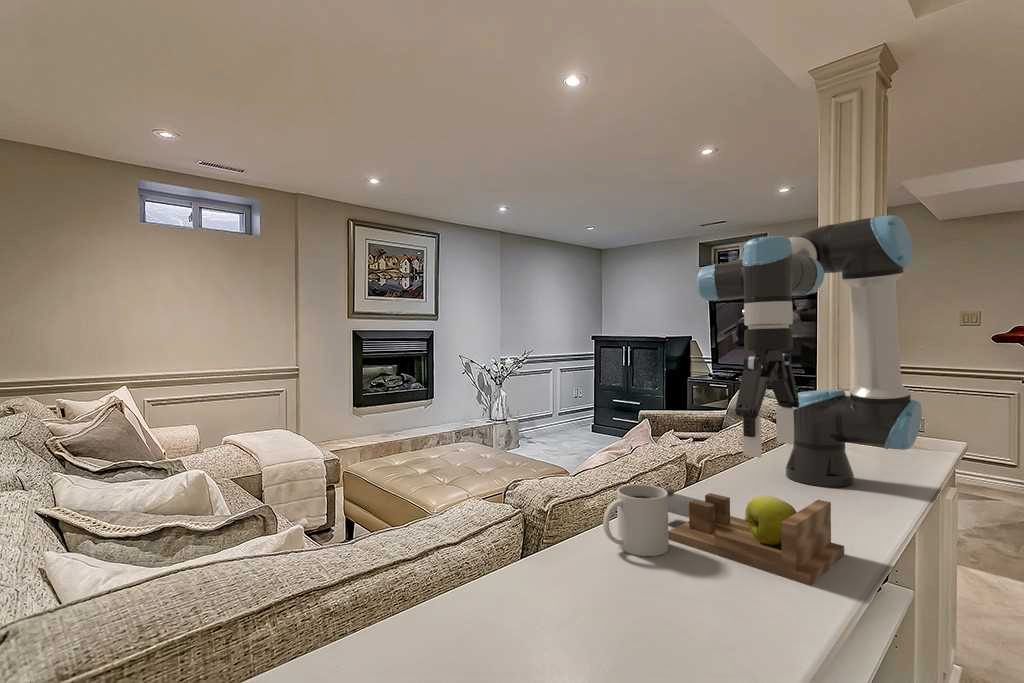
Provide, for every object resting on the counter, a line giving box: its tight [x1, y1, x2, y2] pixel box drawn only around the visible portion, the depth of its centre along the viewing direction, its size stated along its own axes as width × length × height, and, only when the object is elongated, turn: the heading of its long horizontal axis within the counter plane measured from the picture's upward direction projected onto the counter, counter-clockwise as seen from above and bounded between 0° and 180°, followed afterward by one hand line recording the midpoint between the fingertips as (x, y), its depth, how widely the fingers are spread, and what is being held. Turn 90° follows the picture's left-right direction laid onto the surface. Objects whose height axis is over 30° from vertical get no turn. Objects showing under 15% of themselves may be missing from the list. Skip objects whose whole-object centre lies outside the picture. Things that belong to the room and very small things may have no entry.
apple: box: [744, 495, 798, 545], centre depth 88 cm, size 8×9×8 cm
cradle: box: [668, 492, 845, 586], centre depth 91 cm, size 16×24×8 cm, turn 41°
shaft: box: [663, 487, 714, 519], centre depth 100 cm, size 4×10×4 cm, turn 41°
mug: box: [602, 483, 670, 557], centre depth 91 cm, size 11×10×10 cm
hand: (769, 449), depth 88 cm, fingers open, 13 cm apart
